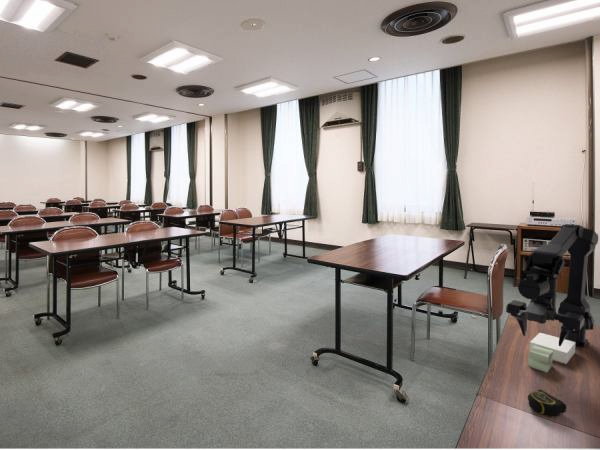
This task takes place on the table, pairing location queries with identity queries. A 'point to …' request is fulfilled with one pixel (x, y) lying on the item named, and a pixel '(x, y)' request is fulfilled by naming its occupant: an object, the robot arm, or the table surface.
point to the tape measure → (545, 404)
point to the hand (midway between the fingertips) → (541, 340)
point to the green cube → (540, 358)
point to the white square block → (555, 347)
